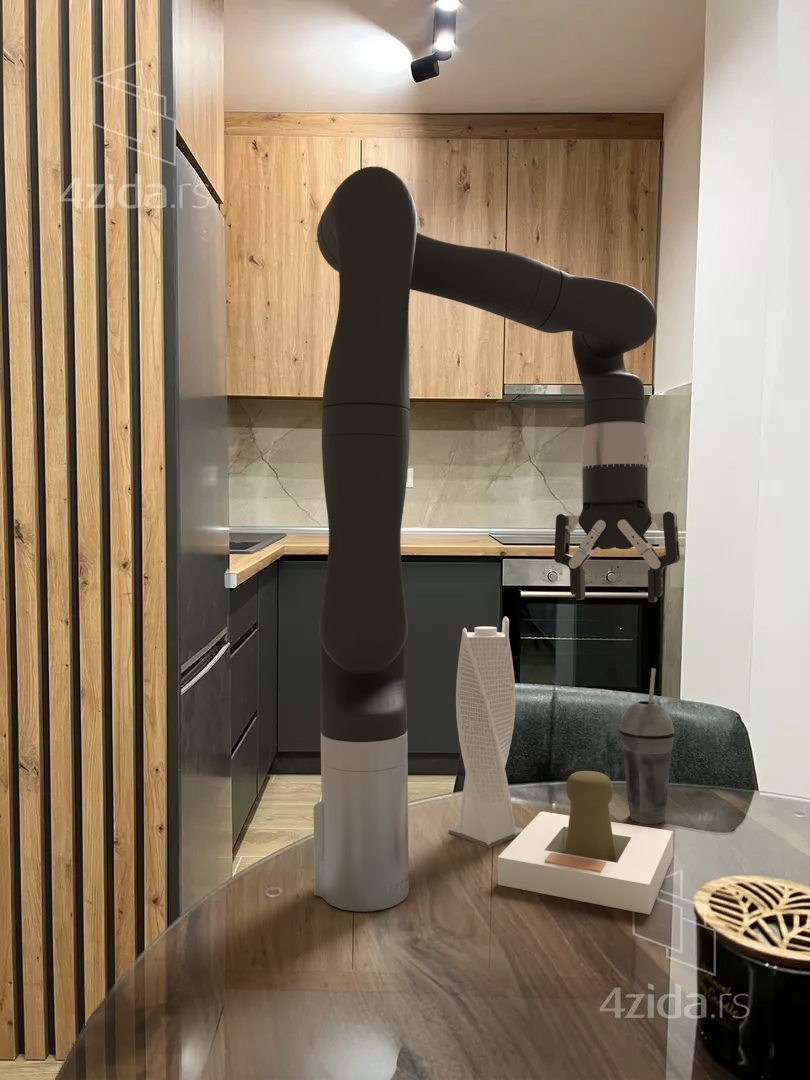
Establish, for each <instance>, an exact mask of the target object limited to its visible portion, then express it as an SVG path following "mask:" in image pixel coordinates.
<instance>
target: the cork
mask: <svg viewBox="0 0 810 1080" xmlns="http://www.w3.org/2000/svg"><path fill="white" fill-rule="evenodd" d="M565 790H566V795H567V797H568V799H569V801H570V802H571V803H570V810H569V816H570V817H569V825H568V833H567V841H566V849H565V852H564V854H569V855H575V856H581V857H586V858H592V859H598V860H604V861H610V862H615V863H617V861H616V856H615V849H614V841H613V834H612V827H611V822H612V821H611V816H610V815H611V814H610V807H609V804H610V803H611V801H612V799H613V797H614V785H613V782H612V780H611V779H610V777H609V776H607V774H605V773H602V772H599V771H595V770H594V771H593V770H582V771H580V770H579V771H576V772H574V773H571V774H570V776H569V777H568V779H567V780H566V784H565Z"/></svg>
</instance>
